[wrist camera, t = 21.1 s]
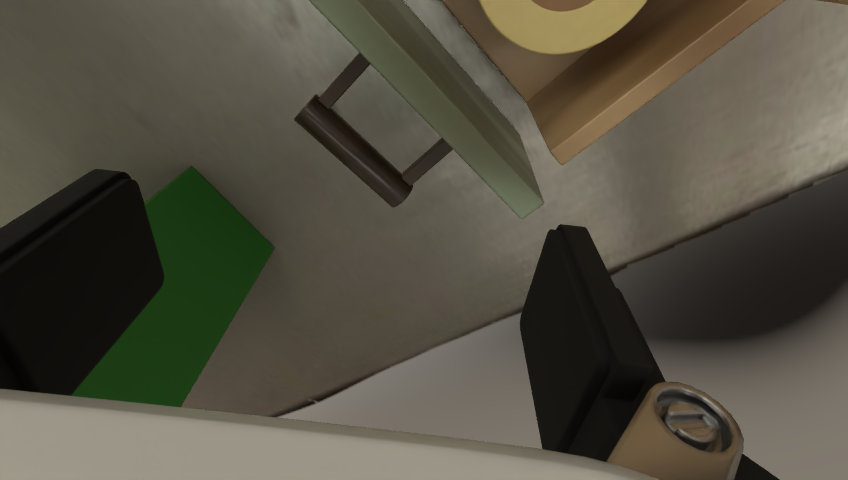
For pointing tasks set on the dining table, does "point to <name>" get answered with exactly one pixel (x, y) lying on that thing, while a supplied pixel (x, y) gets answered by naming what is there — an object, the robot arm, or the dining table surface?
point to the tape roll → (559, 22)
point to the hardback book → (182, 296)
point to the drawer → (526, 71)
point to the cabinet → (836, 1)
